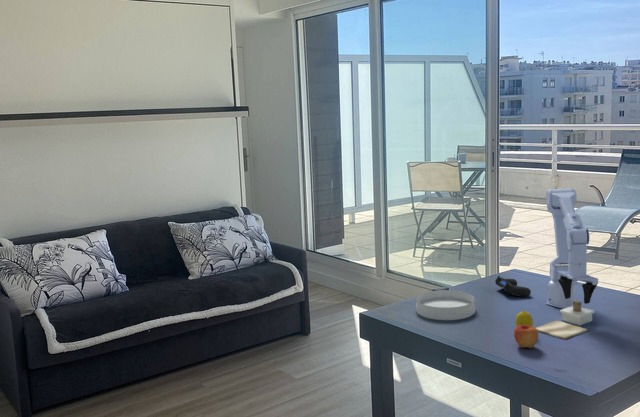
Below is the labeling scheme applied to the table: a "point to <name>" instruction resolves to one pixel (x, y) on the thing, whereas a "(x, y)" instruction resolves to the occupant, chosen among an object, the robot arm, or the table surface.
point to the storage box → (576, 319)
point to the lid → (577, 310)
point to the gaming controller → (512, 287)
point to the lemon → (524, 319)
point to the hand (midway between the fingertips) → (577, 300)
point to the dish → (445, 305)
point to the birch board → (560, 329)
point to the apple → (526, 335)
